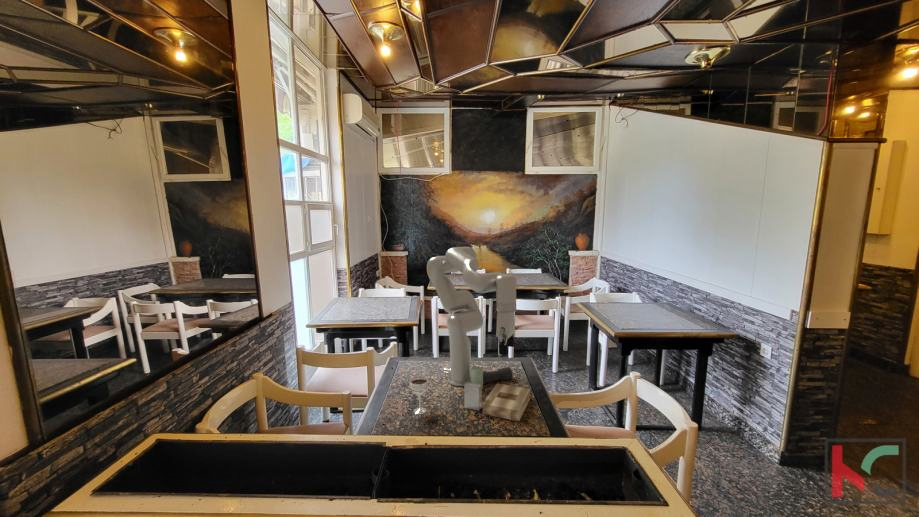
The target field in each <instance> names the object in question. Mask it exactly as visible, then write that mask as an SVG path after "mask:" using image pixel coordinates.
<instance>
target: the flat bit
mask: <svg viewBox="0 0 919 517" xmlns="http://www.w3.org/2000/svg"><path fill="white" fill-rule="evenodd" d="M463 387H464V388H463V389H464V391H463V392H464V393H463V394H464V396H463V397H464V398H463V399H464V409H468V410H469V409H470V410H473V411H476V412H477V411H478V412H480V410H481V409H482V408H483V407H482V403H483V400H482V398H483V395H482V392H483V390H482V391H481V385H480V384H474V383H468V382H467V383H466V384H465V385H464V386H463Z"/></svg>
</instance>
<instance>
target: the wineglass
mask: <svg viewBox="0 0 919 517" xmlns="http://www.w3.org/2000/svg"><path fill="white" fill-rule="evenodd" d="M428 381H429V380H428V378H427V377H425V376H418V377H414V378H412V379H410V390H411V392H412V393H413V394H414V395H416V396H418V405H419V407H416V408H415V409H414V410H413V413H414V414H415V415H423V414H425V413H427V411H428V410H427V408H425V407H421V406H422V405H421V401H422V400H421V397H422V395H424V394H425V393H426V392H427V391H428V388H429V384H428Z"/></svg>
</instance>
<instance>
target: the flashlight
mask: <svg viewBox="0 0 919 517" xmlns="http://www.w3.org/2000/svg"><path fill="white" fill-rule="evenodd" d="M513 378H514V370H513V368H512V367H511V366H507V367H502V368H498V369H497V370H492V371H491V370H489V371H486V370H483V385H485V384H488V383H492V382H495V381H505V380H507V381H509V380H512V379H513Z"/></svg>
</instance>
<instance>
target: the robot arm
mask: <svg viewBox="0 0 919 517" xmlns="http://www.w3.org/2000/svg"><path fill="white" fill-rule="evenodd" d="M478 270H479V261H478V259H477V253H476V251H475V249H474V248H473V247H471V246H455V247H451V248H449V249H447V250H446V252H445V255H438V256H437V255H436V256H434V257H431V258H430V259H428V261H427V264H426V273H427V276H428V278H429V280H430V282H431V284H432V285H433V287H434V288H435V291H436V294H437V296H438V298H439V300H440V303H441V305H442V308H443V309H444V311H445V312H446V313H453V314H451V315H449V317H448V318H447V319H446V320H447V322H446V326H447V330H448V335H449V336H448V337H449V338H448V339H449V362H450V363H449V364H450V368H443V371H442V372H443V373H442V374H443V375H445V376H446V375H447V380H446V381H447V383H448V384H450V385H452V386H454V387H455V386H456V387H464V385H465V384H466V383H467V382H468V383H472V380H471V368H472V351H471V350H472V348H471V345H472V344H471V339H470V338H469V336H468V335H467V333H470V332H474V331H477V330H480V329H481V328H482V327H483V325H484V317H483V314H482V312H481V310H480V308H479V305H478V303H477V301H476V298H475V296H474V295H473V294H472V292H470V291H469V290H467V289H461V290H460V289H459V290H457V289H456V288H455V286H454V284H453V281H452V280H451V279H450V278H449V277H448V276H446V275H445V274H451V273H458V272H460V273H462V278H463V281H464V284H466V286H467V287H469V289H471V290H472V291H474V292H476V293H477V294H485V293H492V292H495V293H496V295H495V296H496V299H495V301H496V304H495V305H496V312H497V314H496V315H497V316H496V328H495V329H496V332H495V333H496V334H495V335H496V338H498V355H500V356H508V347H510V348H514V347H515V330H516V325H515V323H516V322H515V320H516V319H515V312H516V313H517V277H516V276H515V275H513V274H508V273H502V272H500V271H499V272H498V271H495V272H493V271H492V272H484V273H478V272H477V271H478ZM455 312H456V313H455Z"/></svg>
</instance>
